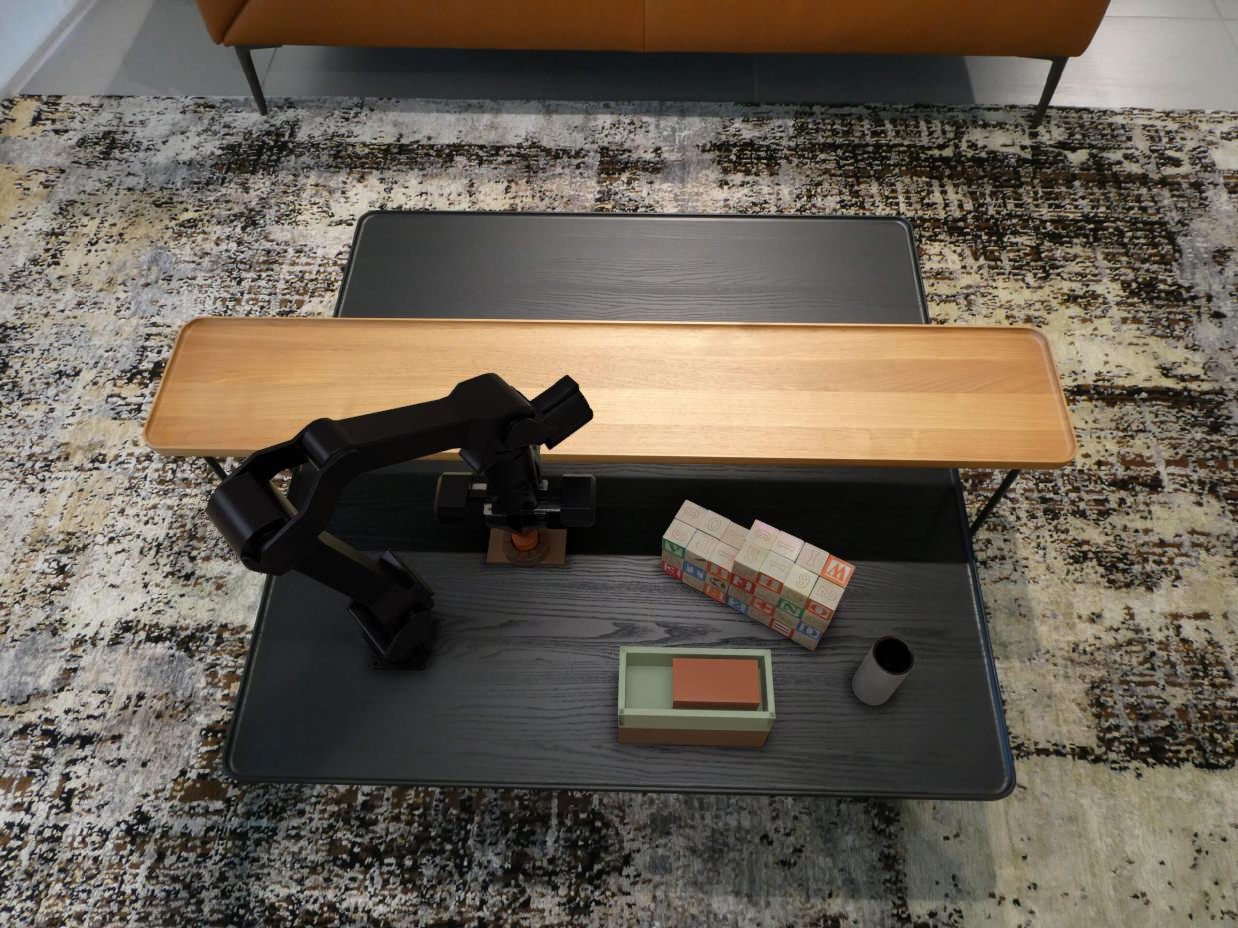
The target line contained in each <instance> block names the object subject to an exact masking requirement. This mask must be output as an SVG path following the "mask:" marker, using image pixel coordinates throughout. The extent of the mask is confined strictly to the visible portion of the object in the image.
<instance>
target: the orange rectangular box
mask: <svg viewBox="0 0 1238 928" xmlns="http://www.w3.org/2000/svg"><path fill="white" fill-rule="evenodd" d="M759 704H760V689H759V673H758V660H737V659H692V658H673V660H672V669H671V709H679V710H720V711H757V709H758V707H759Z"/></svg>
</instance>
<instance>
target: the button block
mask: <svg viewBox="0 0 1238 928" xmlns="http://www.w3.org/2000/svg"><path fill="white" fill-rule="evenodd" d="M522 520H523V517H522ZM536 530H537V534H538V543H537V545H536V547H535V548H533V549H532V550H529V551H521V550H519V549H517V548H516V547H515V545H514V542H513V538H512V533H510V532H507V531H504V530H500V529H497V528H490V534H489V540H488V547H487V554H486V555H487V556H486V564H487V565H511V566H512V565H513V566H514V565H515V566H518V567H534V566H560V567H561V566H563V567H564V566H566V554H567V553H566V552H567V538H568V530H567V529H566V528H565V529H564V528H547V526H546V527H545V528H538V529H536Z"/></svg>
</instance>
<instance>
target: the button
mask: <svg viewBox="0 0 1238 928" xmlns="http://www.w3.org/2000/svg"><path fill="white" fill-rule="evenodd" d="M512 538H513V542H514V545H515V547H516V548H517V549H519V550H521V551H529V550H532V549H533V548H535V547H536V545H537V543H538V534H537V530H534V531H532V532H531V533H530V534H529V535H528V536H527V537H524V536H523V537H520V536H518V535H515V534H513V533H512Z"/></svg>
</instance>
